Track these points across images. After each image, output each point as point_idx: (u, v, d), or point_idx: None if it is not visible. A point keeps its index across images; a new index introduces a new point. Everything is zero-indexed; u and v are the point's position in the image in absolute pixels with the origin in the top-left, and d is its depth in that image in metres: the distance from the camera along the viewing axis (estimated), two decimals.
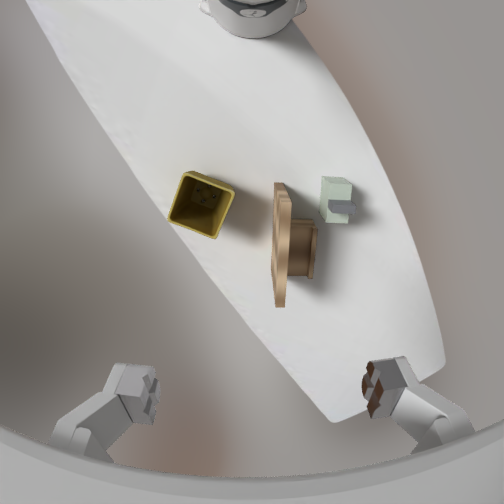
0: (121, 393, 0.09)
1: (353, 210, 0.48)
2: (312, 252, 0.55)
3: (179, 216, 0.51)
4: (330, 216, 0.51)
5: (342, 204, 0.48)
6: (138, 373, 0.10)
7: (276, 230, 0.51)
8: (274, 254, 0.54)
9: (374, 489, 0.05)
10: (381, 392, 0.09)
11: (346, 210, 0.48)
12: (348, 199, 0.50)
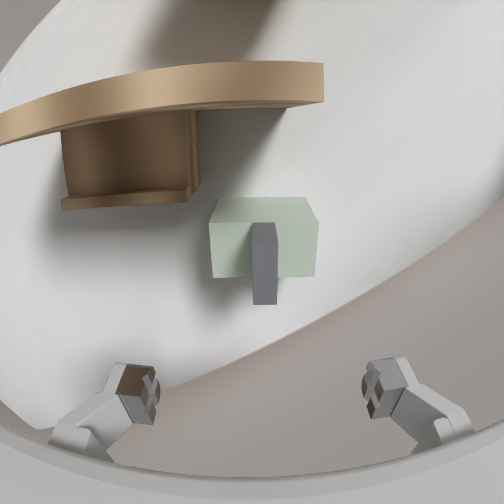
0: (121, 393, 0.09)
1: (264, 299, 0.18)
2: (123, 198, 0.19)
3: None
4: (228, 232, 0.20)
5: None
6: (138, 373, 0.10)
7: None
8: None
9: (374, 489, 0.05)
10: (381, 392, 0.09)
11: (262, 281, 0.17)
12: None
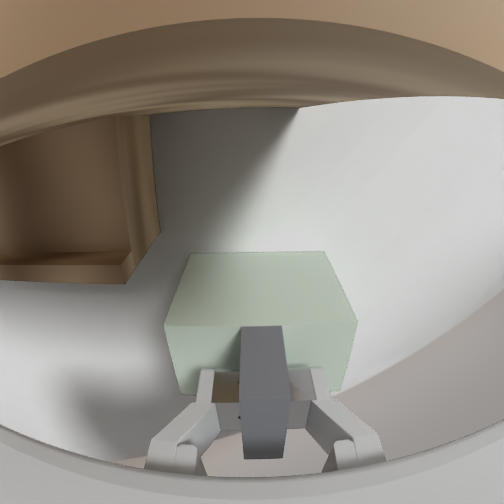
0: (219, 401, 0.09)
1: (262, 454, 0.09)
2: (33, 270, 0.10)
3: None
4: (199, 340, 0.11)
5: None
6: (231, 378, 0.10)
7: None
8: None
9: (374, 489, 0.05)
10: None
11: (259, 439, 0.09)
12: None
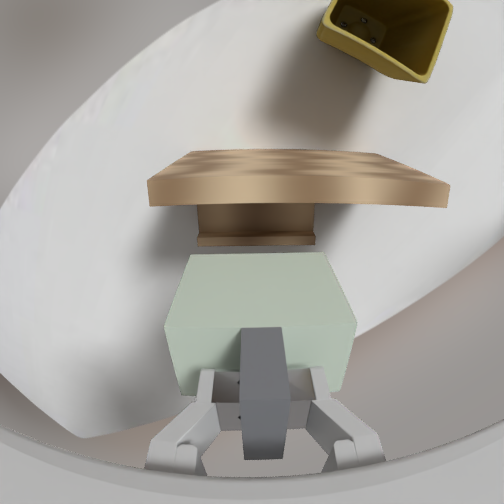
0: (219, 401, 0.09)
1: (262, 455, 0.09)
2: (262, 239, 0.26)
3: None
4: (199, 341, 0.11)
5: None
6: (231, 378, 0.10)
7: (335, 162, 0.21)
8: (260, 157, 0.22)
9: (374, 489, 0.05)
10: None
11: (259, 440, 0.09)
12: None
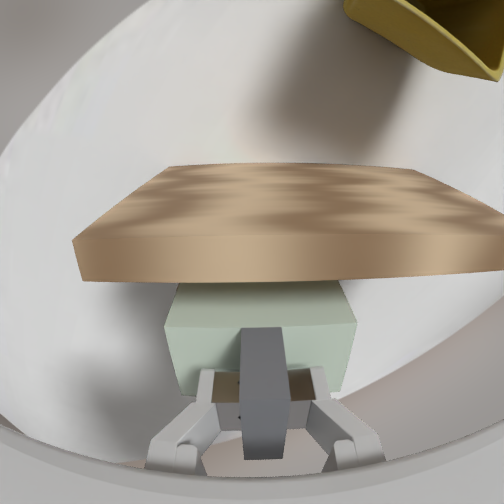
0: (219, 401, 0.09)
1: (262, 455, 0.09)
2: None
3: None
4: (199, 341, 0.11)
5: None
6: (231, 378, 0.10)
7: (377, 191, 0.13)
8: (265, 180, 0.15)
9: (374, 489, 0.05)
10: None
11: (259, 440, 0.09)
12: None
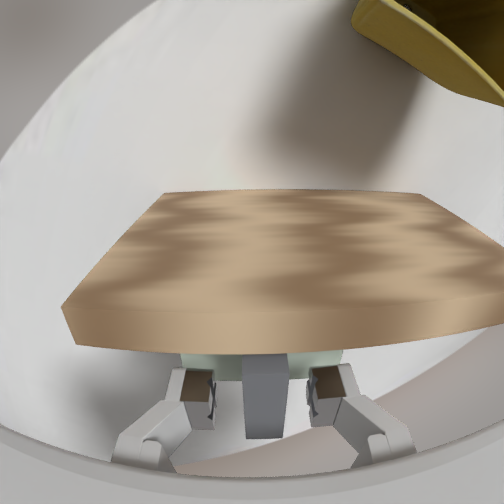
0: (187, 400, 0.09)
1: (263, 434, 0.10)
2: None
3: None
4: None
5: None
6: (201, 377, 0.10)
7: (385, 232, 0.13)
8: (265, 219, 0.14)
9: (374, 489, 0.05)
10: (316, 400, 0.09)
11: (260, 417, 0.09)
12: None
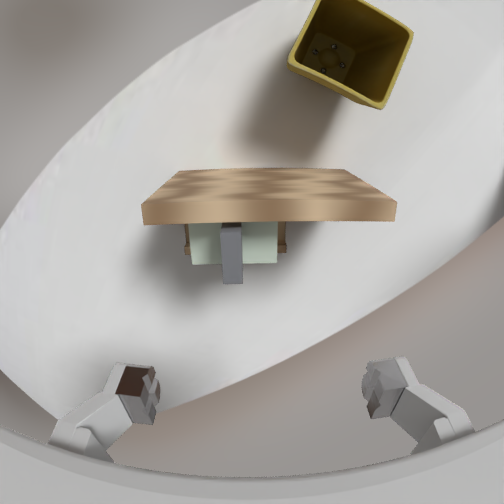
0: (121, 393, 0.09)
1: (232, 279, 0.22)
2: None
3: None
4: (203, 226, 0.24)
5: None
6: (138, 373, 0.10)
7: (299, 182, 0.25)
8: (236, 179, 0.26)
9: (374, 489, 0.05)
10: (381, 392, 0.09)
11: (229, 264, 0.22)
12: (244, 259, 0.25)
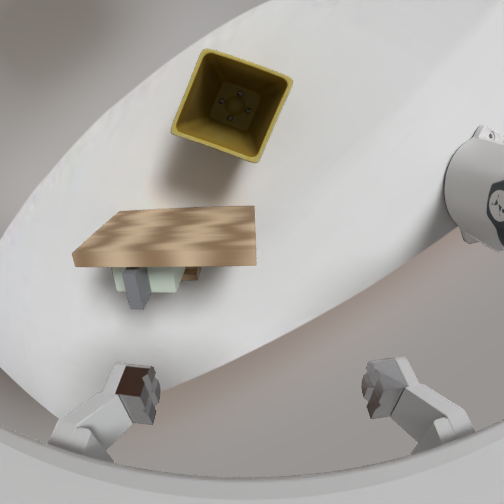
0: (121, 393, 0.09)
1: (135, 306, 0.28)
2: None
3: (206, 67, 0.25)
4: None
5: (139, 287, 0.28)
6: (138, 373, 0.10)
7: (192, 228, 0.31)
8: (149, 224, 0.33)
9: (374, 489, 0.05)
10: (381, 392, 0.09)
11: (132, 295, 0.28)
12: (152, 289, 0.31)
